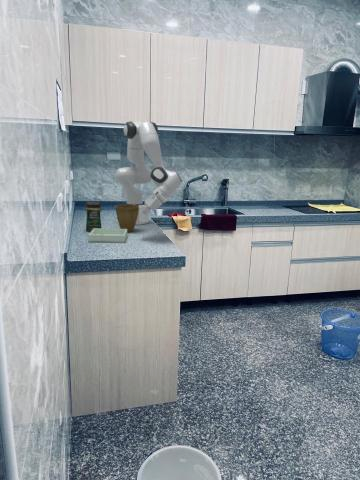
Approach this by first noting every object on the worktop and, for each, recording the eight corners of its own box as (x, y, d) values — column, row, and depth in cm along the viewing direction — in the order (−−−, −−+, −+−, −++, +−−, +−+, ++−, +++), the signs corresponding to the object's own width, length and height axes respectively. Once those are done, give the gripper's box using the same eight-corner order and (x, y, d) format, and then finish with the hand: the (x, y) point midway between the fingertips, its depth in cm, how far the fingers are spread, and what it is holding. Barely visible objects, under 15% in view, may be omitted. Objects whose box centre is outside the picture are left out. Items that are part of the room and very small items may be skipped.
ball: (105, 238, 202) (101, 235, 203) (105, 234, 200) (102, 232, 201) (101, 241, 200) (98, 238, 201) (102, 237, 198) (98, 234, 199)
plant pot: (140, 233, 223) (140, 207, 219) (115, 233, 220) (115, 207, 216) (137, 228, 237) (138, 204, 233) (115, 228, 234) (115, 204, 230)
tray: (93, 234, 214) (93, 228, 213) (127, 235, 216) (127, 229, 215) (88, 242, 197) (88, 235, 196) (124, 242, 198) (124, 235, 197)
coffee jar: (85, 232, 221) (85, 202, 217) (86, 229, 229) (85, 200, 224) (101, 231, 223) (101, 202, 219) (101, 229, 231) (101, 200, 226)
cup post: (147, 220, 209) (147, 205, 207) (148, 221, 205) (148, 206, 202) (138, 220, 208) (138, 205, 206) (139, 222, 203) (139, 206, 201)
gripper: (152, 189, 214) (136, 206, 214) (159, 193, 194) (141, 211, 194) (160, 197, 216) (143, 213, 216) (166, 201, 196) (149, 219, 196)
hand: (142, 212), depth 205 cm, fingers closed on cup post, 5 cm apart
